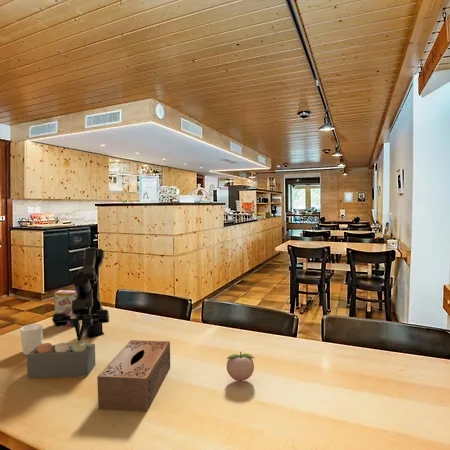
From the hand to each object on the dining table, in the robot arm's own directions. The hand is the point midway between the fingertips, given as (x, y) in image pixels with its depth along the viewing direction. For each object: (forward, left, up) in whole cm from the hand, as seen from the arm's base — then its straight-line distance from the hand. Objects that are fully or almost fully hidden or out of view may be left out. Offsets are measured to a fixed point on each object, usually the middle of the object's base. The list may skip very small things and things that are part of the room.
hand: (79, 340), depth 119 cm
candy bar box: (-13, -52, -11) cm, 55 cm away
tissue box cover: (-10, +23, -12) cm, 28 cm away
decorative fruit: (-36, +44, -11) cm, 58 cm away
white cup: (+8, -30, -11) cm, 33 cm away
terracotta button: (+9, -8, -6) cm, 13 cm away
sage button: (0, 0, -6) cm, 6 cm away
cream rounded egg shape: (+4, -4, -6) cm, 9 cm away
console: (+4, -4, -11) cm, 13 cm away
